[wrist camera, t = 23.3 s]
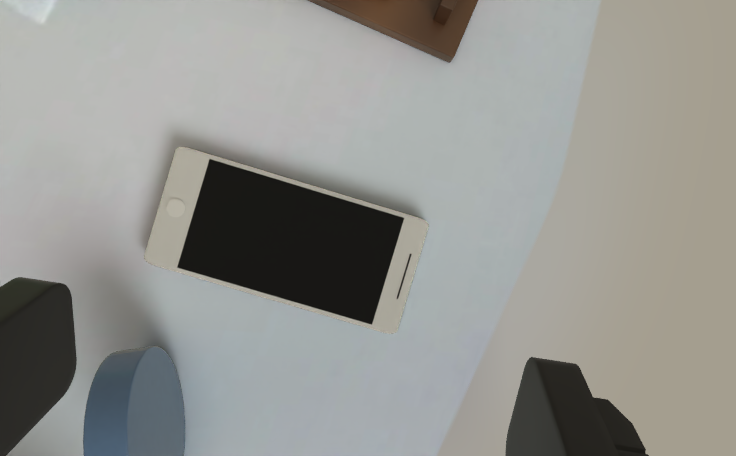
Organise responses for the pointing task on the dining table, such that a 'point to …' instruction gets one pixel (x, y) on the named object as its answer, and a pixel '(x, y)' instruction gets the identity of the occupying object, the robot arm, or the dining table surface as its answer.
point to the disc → (135, 406)
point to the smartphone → (285, 240)
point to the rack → (412, 21)
